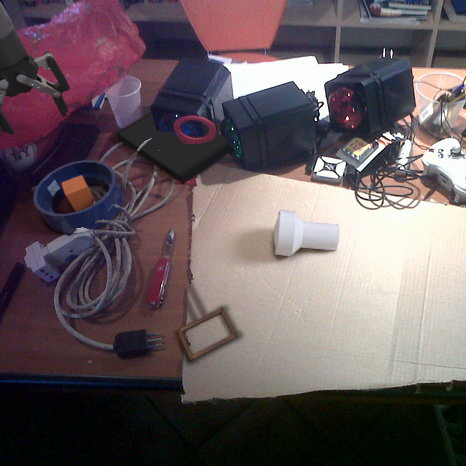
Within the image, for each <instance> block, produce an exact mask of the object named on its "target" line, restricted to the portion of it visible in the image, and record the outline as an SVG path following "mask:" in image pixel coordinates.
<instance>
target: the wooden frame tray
mask: <svg viewBox="0 0 466 466" xmlns="http://www.w3.org/2000/svg"><path fill="white" fill-rule="evenodd" d="M219 315H222V318H223V319H224V321H225V323H226V325H227V326H228V328H229V330H230V332H231V334H230V335H229V336H227V337H225V338H223V339H221V340H219V341H217V342H215V343H214V344H212V345H211V344H210V345H209V346H208V347H205V348H204V349H201V350H199V351H197V352H195V353H194V354H193V353H192V351H191V348H190V346H189V344H188V342H187V339H186V338H185V335H184V334H183V333H185V332H187V331H189V330H191V329H193V328H195V327H198V326H199V325H201V324H203V323H205V322H208V321H209V320H211V319H213V318H215V317H217V316H219ZM176 332H177V334H178V337H179V339H180V341H181V343H182V346H183V347H184V349H185V352H186V354H187V356H188V358H189V360H190V362H194V361H195V360H197V359H199V358H201V357H203V356H205V355H207V354H209V353H211V352H213V351H215V350H217V349H218V348H220V347H223V346H224V345H226V344H229V343H230V342H231V341H234V340H235V339H237V338H239V334H238V332H237V330H236V329H235V327H234V325H233V324H232V321H231V320H230V317H229V316H228V314H227V312H226V310H225V308H224V307H223V306H222V307H221V308H219V309H216V310H214V311H212V312H210V313H208V314H206V315H204V316H202V317H200V318H198V319H196V320H194V321H192V322H190V323H188V324H186V325H183V326H182V327H180V328H178V329H177V330H176Z"/></svg>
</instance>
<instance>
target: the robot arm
mask: <svg viewBox="0 0 466 466" xmlns="http://www.w3.org/2000/svg"><path fill="white" fill-rule="evenodd" d="M16 29H17V28H16V27H15V26H14V24H13V21H12V20H11V17H10V15H9V14H8V12H7V10H6V8H5V7H4V5H3V4H2V2H1V1H0V129H1V131H2V132H3V133H8V134H9V135H10V136H11V135H14V134H15V130H14V127H13V125H12V124H11V122H10V121H9V119H8V117H7V116H6V114H5V112H4V111H3V109H2V108H3V105H4V103H5V99H6V97H9V98H14V97H16V96H18V95H20V94H27V93H30V92H32V90H33V89H34V90H37V91H38V92H39V93H43V94H44V93H45V94H47V95H48V96H50V97H51V98H52V99H53V103H54V104H55V106H56V107H57V109H58V111H59V113H60V115H61V117H62V118H65V117H67V113H68V112H69V108H68V105H67V103H66V101H65V99H64V97H63V93H64V92H68V91H69V90H70V89H71V86H70V84H69V82H68V80H67V78H66V76H65V74H64V72H63V71H62V69H61V68H60V65H59V63H58V62H57V60H56V58H55V56H54V55H53V53H52V52H51V51H50V50H46V51H44V52H43V55H42V56H38V57H36V58H33V56H31V55H30V53H29V52H28V51H27V48H26V46H25V44H24V43H23V41H22V38H21V37H20V35H19V33H18V31H17V30H16ZM39 67H42V68H43V69H44V70H46V71H51V73H52V74H53V76H54V77H55V79H56V82H55V83H53V82H52V81H50V80H48V79H46V78H45V77H43V76H42V75H40V74H38V72H39Z"/></svg>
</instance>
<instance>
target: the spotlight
mask: <svg viewBox="0 0 466 466" xmlns="http://www.w3.org/2000/svg"><path fill="white" fill-rule="evenodd" d="M273 229H274V230H273V242H274V248H275V249H274V252H275V253H274V254H275V256H285V257H292V256H293V255H294V254H295V253H296V252H297V251H298V250H299V249H301V248H302V249H312V250H313V249H314V250H326V251H337V249H338V247H339V241H340V225H339V224H338V223H329V222H328V223H327V222H318V221H307V220H303V219H302V218H301V216H299V214H298V212H297V211H295V210H291V209H278V216H277V218H276V221H275V224H274V228H273Z"/></svg>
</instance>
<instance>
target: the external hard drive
mask: <svg viewBox="0 0 466 466" xmlns="http://www.w3.org/2000/svg"><path fill="white" fill-rule="evenodd" d="M151 112H152V111H150V112H149V113H147V114H145V115H143V116H142V117H140V118H139V119H137V120H134V121H133V122H131V123H129V124H128V125H126V126H125V127H123V128H121V129H120V130H118V131H117V132H116V136H117V138H118V140H119V141H120V142H122V143H123V144H125V145H126V146H128V147H129V148H131V149H132V150H133V151H135V152H136V150H137V149H138V148H139V146H140V145H141V144H142V143H143V142H144V141H146V140H148V139H150V138H152V139H151V140H150V141H148V142H147V143H146V144H145V145H144V146H143V147H142V148H141V149H140V151H139V152H137V154H139V155H140V156H142V157H143V158H145V159H146V160H147V161H149V162H150V163H152V164H154V166H156V167H158V168H159V169H161V170H162V171H163V172H166V173H167V174H168V175H169V176H170V177H172V178H174V179H175V180H176V181H178V182H180V183H181V184H182V185H185V184H186V183H189V181H190V180H192V179H193V178H195V177H196V176H198V175H199V174H200V173H202V172H203V171H205V170H207V169H208V168H209V167H211V166H212V165H213V164H215V163H216V162H218V161H220V159H222V158H223V157H226V155H228V154H229V153H230V152H232V151H234V149H233V148H232V147H230V145H229V143H228V142H227V141H226V139H225V138H226V137H225V136H224V135H222V134H221V133H219V132H217V133H216V137H215V139H213V140H212V141H209V142H205V143H201V144H184V143H183V142H182V141H181V140H180V139H179V138H178V137H177V136H176V135H175V133H174V132H160V131H157V129H156V127H155V124H154V120H153V117H152V113H151ZM223 136H224V137H225V138H224V137H223ZM199 137H201V136H199ZM158 150H159V151H158Z"/></svg>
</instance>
